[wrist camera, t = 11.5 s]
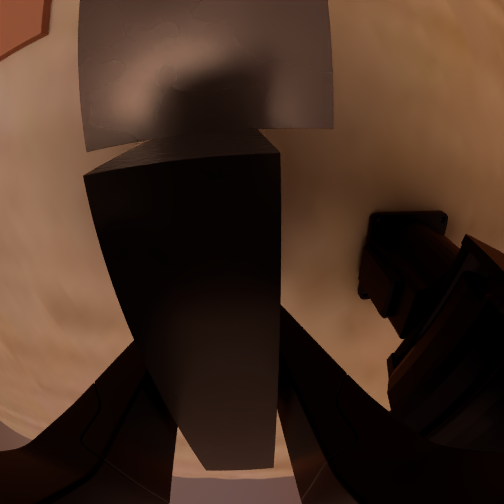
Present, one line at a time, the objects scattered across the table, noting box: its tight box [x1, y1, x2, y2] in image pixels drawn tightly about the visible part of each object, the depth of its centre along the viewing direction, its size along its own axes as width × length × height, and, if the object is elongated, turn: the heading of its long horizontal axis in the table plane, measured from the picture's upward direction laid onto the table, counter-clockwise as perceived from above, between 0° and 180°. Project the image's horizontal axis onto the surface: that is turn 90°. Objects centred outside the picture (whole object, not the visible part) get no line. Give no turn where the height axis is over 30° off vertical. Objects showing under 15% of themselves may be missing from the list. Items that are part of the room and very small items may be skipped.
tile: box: [0, 0, 51, 61], centre depth 7 cm, size 8×1×8 cm
